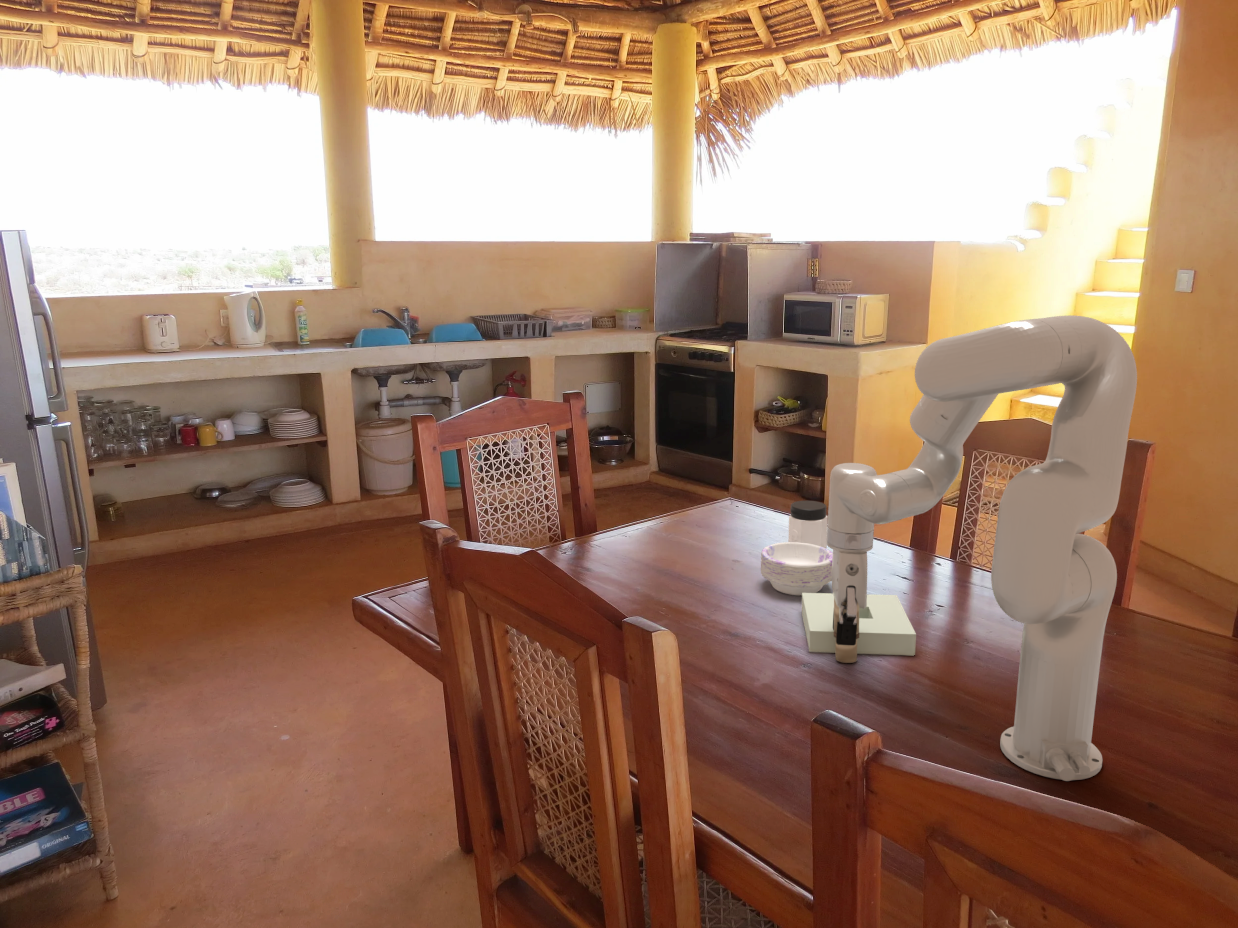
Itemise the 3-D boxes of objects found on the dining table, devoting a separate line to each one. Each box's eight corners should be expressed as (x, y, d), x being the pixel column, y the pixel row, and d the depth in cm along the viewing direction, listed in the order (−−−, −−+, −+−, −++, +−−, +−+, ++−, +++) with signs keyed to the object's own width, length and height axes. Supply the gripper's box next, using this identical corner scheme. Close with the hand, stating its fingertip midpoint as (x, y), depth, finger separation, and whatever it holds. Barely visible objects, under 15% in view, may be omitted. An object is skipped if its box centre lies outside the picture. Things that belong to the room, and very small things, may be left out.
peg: (860, 663, 145) (861, 594, 143) (834, 663, 145) (835, 594, 144) (857, 655, 149) (857, 588, 148) (832, 654, 149) (832, 587, 148)
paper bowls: (848, 594, 176) (850, 558, 175) (785, 606, 171) (786, 568, 169) (806, 571, 190) (807, 537, 188) (747, 581, 185) (747, 546, 183)
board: (914, 655, 148) (916, 634, 147) (809, 651, 151) (810, 630, 150) (895, 614, 166) (896, 595, 165) (801, 611, 168) (802, 592, 167)
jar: (781, 551, 203) (782, 503, 201) (807, 545, 207) (809, 498, 204) (806, 562, 196) (807, 512, 193) (833, 556, 199) (835, 506, 197)
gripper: (881, 555, 134) (873, 661, 138) (865, 522, 150) (859, 617, 155) (832, 553, 135) (826, 658, 139) (822, 520, 151) (817, 615, 156)
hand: (843, 636), depth 147 cm, fingers closed on peg, 4 cm apart
